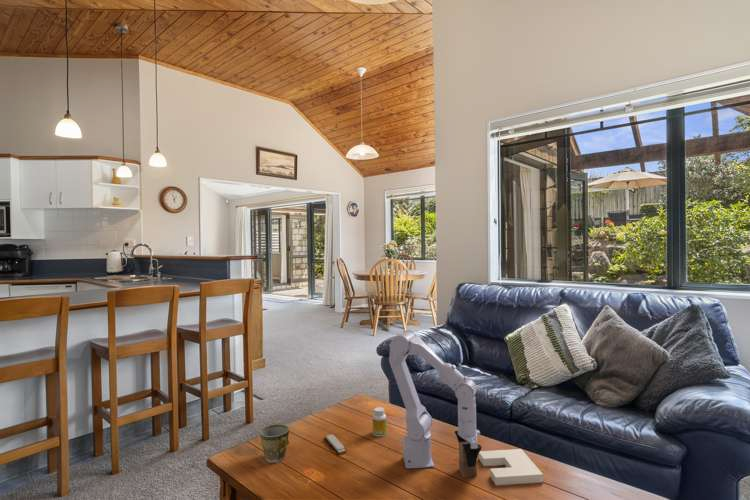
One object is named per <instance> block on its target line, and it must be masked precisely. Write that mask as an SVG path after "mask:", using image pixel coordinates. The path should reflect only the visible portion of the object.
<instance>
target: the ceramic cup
mask: <svg viewBox="0 0 750 500" xmlns="http://www.w3.org/2000/svg"><path fill="white" fill-rule="evenodd" d="M289 434H290V427H289V425H287V424H284V423H273V424H268V425H265V426H264V427H262V428H261V429H260V431H259V436H260V441H261V445H262V449H263V450H262V451H263V455H264V460H265V461H266V462H267V463H269V464H271V463H272V464H273V463H274V464H275V463H277V462H278V463H280V462H282V461H284V460H285V457H286V453H287V452H286V451H287V447H288V446H289V444H290V441H289Z"/></svg>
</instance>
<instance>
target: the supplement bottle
mask: <svg viewBox="0 0 750 500" xmlns="http://www.w3.org/2000/svg"><path fill="white" fill-rule="evenodd" d="M373 412H374V414H373V415H372V435H373V436H374V437H377V438H378V437H379V438H380V437H385V436H386V435H387V433H388V431H387V414H385V408H384V407H380V406H379V407H374V411H373Z"/></svg>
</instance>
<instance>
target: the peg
mask: <svg viewBox="0 0 750 500" xmlns="http://www.w3.org/2000/svg"><path fill="white" fill-rule="evenodd" d="M462 444H469V443H468V442H458V462H459V463H458V464H459V465H458V468H459V471H460V474H461V476H462V477H463V478H466V477H469V478H470V477H477V475H478V474H477V473H478V470H477V467H478V466H477V465H478V464H477V462H478V461H477V460H478V459H477V460H476V465H475V467H468V464H467V458H466V453H465V450H464V448H463V446H462Z"/></svg>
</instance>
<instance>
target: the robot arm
mask: <svg viewBox="0 0 750 500" xmlns="http://www.w3.org/2000/svg"><path fill="white" fill-rule="evenodd" d="M388 346H389V356H388V361H389V364H390V368H391V371H392V374H393V376H394V378H395V382H396V385H397V388H398V391H399V393H400V396H401V399H402V401H403V406H404V407H405V411H406V414H405V423H406V432H407V435H404V436H402V449H403V450H402V459H403V462H404V466H405V468H406V469H421V468H422V469H423V468H434V467H435V463H434V461H433V459H432V442H431V441H432V440H431V439H432V435H431V431H430V429H431V428H432V427H433V423H434V422H433V421H434V420H433V418H432V416H431V415H430V413H429V412H428V411H427V408H426V407H425V406H424V405H423V404H422V403H421V400H420V398H419V395H418V393H417V390H416V386H415V383H414V381H413V378H412V375H411V372H410V370H409V366H408V365H407V362H406V359H407V358H408V356H419V357H420V358H422V359H423V360H424V361H425V362H426V363H428V364H429V365H430V366H431V367H433V369H434V370H436V372H437V375H438V376H437V377H438V378H439V379H441V380H442V381H443V382H444V383H445V384H446V385H447V386H448V387H449V388H450V389H452V391H454V394H455V397H456V399H457V425H458V426H457V430H455V431H454V435H455V436H456V439H457V443H459V442H468V443H469V444H462V446H463V448H464V450H465V453H466V458H467V464H468V467H475V465H476V460H478V457H479V452H480V451H482V446H481V444H479V443H478V435H481V432H480V430H479V429H477V403H476V394H477V391H478V385H477V384H476V382H475V380H474V379H472V378H470V377H467V375H465V376H464V374H462V373H461V372H460V371H459V370H458V369H457V365H455V364H451V363H449V362H444V361H443V360H442V359H441V358H440V357H439V356H438V355H437V354H436V353H435V352H434V351H433V350H432V349H431V348H430V347H429V346H428V345H427V344H426V343H425V342H424V341H423V340H422V338H421V336H419V335H417V334H416V333H415V331H412V330H410V329H409V330H405V331H403V332H401V333H400V334H398V335H396V336H394V337H393V338H392V340H391V341H390V343H389V344H388Z"/></svg>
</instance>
